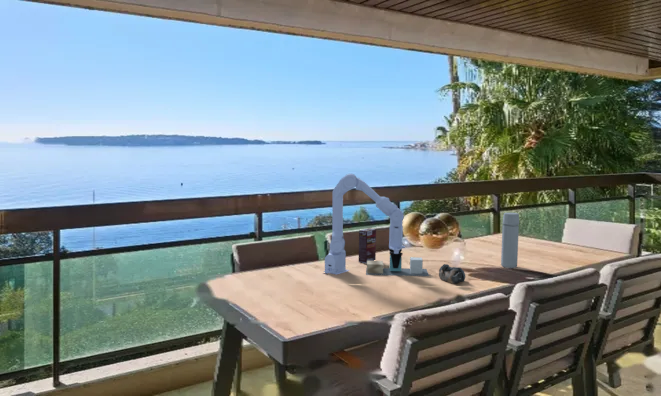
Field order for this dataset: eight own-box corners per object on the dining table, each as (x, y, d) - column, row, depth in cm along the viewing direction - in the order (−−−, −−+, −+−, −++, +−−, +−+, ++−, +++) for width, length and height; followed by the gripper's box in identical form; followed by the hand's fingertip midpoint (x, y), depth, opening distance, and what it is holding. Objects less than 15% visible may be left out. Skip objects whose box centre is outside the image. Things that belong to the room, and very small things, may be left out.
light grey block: (410, 273, 220) (411, 259, 219) (410, 270, 225) (410, 257, 224) (422, 273, 220) (422, 260, 219) (421, 270, 225) (421, 257, 224)
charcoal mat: (365, 276, 218) (365, 274, 218) (366, 268, 231) (366, 267, 230) (429, 277, 215) (429, 276, 215) (426, 270, 228) (426, 268, 228)
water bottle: (519, 269, 230) (521, 214, 227) (501, 268, 232) (503, 214, 229) (516, 264, 239) (518, 212, 236) (498, 263, 241) (500, 211, 238)
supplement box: (366, 264, 239) (366, 231, 237) (358, 263, 242) (358, 230, 240) (376, 261, 246) (376, 229, 244) (367, 259, 249) (368, 228, 247)
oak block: (366, 273, 220) (367, 264, 220) (367, 269, 227) (367, 260, 227) (383, 273, 220) (383, 264, 219) (382, 269, 227) (382, 260, 226)
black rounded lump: (440, 278, 215) (431, 282, 207) (441, 262, 214) (432, 265, 206) (468, 283, 208) (460, 287, 200) (469, 266, 208) (461, 270, 200)
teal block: (389, 270, 221) (390, 257, 220) (389, 268, 226) (389, 255, 225) (401, 271, 220) (401, 257, 219) (400, 268, 225) (401, 255, 224)
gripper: (406, 239, 214) (405, 270, 215) (404, 233, 228) (403, 262, 229) (389, 239, 214) (388, 270, 216) (388, 233, 229) (388, 262, 230)
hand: (395, 266), depth 223 cm, fingers closed on teal block, 5 cm apart
